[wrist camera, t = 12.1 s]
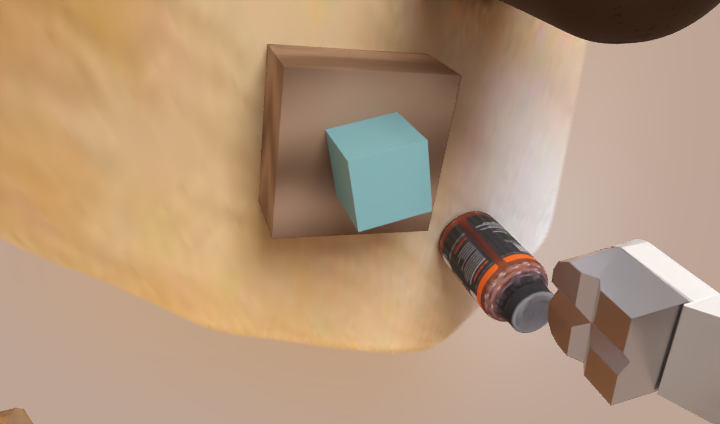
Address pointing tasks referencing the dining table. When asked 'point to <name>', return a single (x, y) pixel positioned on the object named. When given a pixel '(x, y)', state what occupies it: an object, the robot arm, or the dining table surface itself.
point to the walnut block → (336, 108)
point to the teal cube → (380, 170)
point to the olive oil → (617, 17)
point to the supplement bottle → (497, 271)
